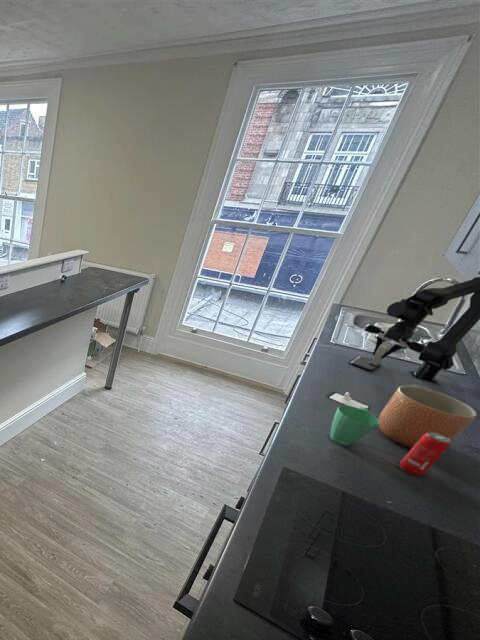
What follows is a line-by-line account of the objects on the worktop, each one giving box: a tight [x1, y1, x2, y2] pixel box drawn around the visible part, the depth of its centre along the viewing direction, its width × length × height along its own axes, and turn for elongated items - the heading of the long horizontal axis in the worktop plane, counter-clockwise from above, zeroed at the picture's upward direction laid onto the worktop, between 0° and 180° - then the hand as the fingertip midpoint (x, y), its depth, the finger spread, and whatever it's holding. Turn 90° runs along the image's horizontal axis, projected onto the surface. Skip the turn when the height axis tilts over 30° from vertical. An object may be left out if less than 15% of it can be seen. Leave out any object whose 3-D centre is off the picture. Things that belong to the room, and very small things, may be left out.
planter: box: [377, 385, 478, 450], centre depth 123 cm, size 17×17×15 cm
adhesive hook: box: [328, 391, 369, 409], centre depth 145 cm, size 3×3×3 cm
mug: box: [329, 404, 380, 447], centre depth 122 cm, size 15×10×10 cm
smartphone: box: [350, 355, 379, 372], centre depth 176 cm, size 7×1×15 cm
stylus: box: [369, 342, 392, 368], centre depth 161 cm, size 2×2×13 cm
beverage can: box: [399, 432, 452, 476], centre depth 111 cm, size 5×5×12 cm
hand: (377, 356), depth 161 cm, fingers closed on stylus, 2 cm apart
